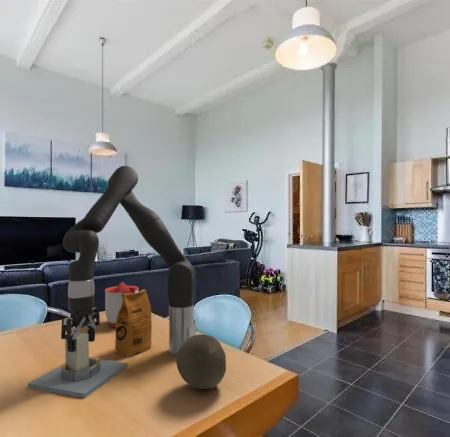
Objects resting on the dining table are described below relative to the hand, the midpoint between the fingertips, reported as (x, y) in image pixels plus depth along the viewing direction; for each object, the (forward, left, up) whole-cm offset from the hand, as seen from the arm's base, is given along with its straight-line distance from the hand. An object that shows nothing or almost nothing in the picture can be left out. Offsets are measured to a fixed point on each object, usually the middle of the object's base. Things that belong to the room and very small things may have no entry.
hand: (81, 346), depth 99 cm
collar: (+1, 0, -8) cm, 8 cm away
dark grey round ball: (-38, -4, -10) cm, 40 cm away
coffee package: (-3, -23, -10) cm, 26 cm away
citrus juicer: (+19, -48, -10) cm, 53 cm away
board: (+1, 0, -10) cm, 10 cm away
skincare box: (+1, +1, -9) cm, 9 cm away
